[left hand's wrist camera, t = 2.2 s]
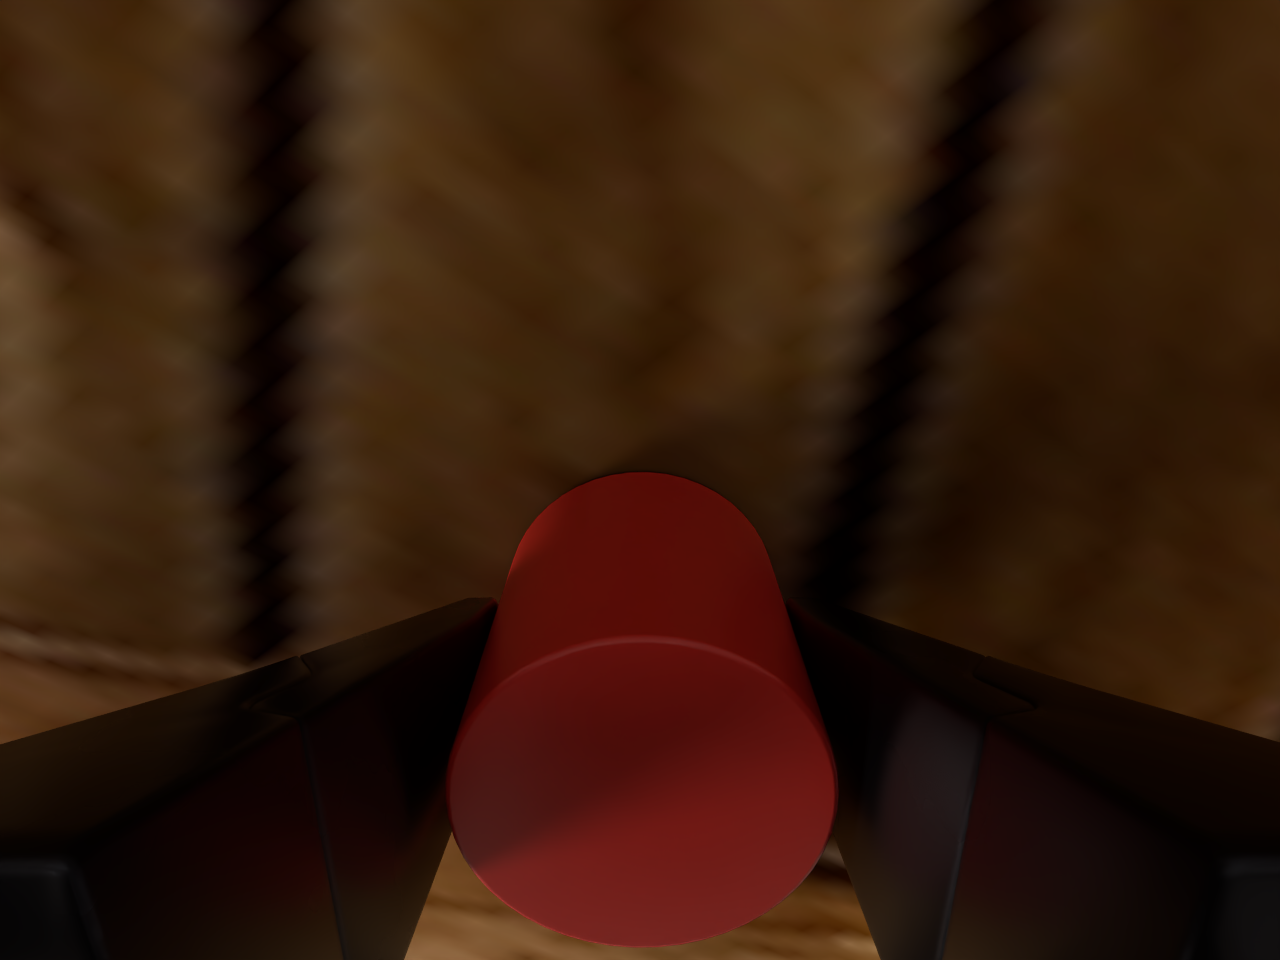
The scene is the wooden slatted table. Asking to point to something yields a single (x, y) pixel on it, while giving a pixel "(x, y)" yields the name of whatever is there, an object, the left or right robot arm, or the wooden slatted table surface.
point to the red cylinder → (641, 724)
